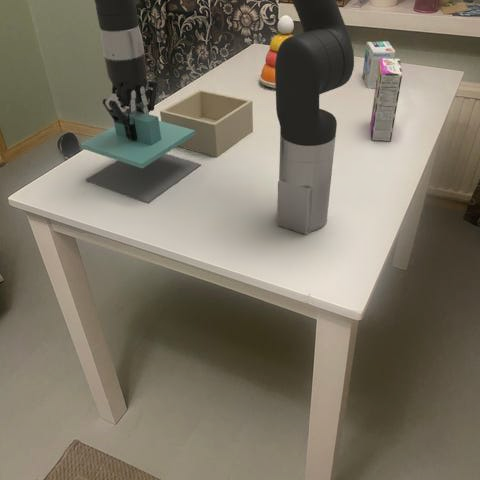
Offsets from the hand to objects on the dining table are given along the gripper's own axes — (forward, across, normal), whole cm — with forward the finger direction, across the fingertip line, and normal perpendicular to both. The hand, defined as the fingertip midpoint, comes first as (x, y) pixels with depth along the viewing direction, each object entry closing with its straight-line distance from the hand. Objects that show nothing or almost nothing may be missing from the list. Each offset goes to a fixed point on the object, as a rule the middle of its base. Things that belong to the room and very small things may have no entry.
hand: (138, 135), depth 99 cm
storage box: (+9, +22, -2) cm, 24 cm away
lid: (+1, 0, 0) cm, 1 cm away
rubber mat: (+9, 0, 0) cm, 9 cm away
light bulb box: (+9, +78, -25) cm, 82 cm away
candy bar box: (+9, +45, -38) cm, 59 cm away
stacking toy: (+9, +64, 0) cm, 64 cm away
